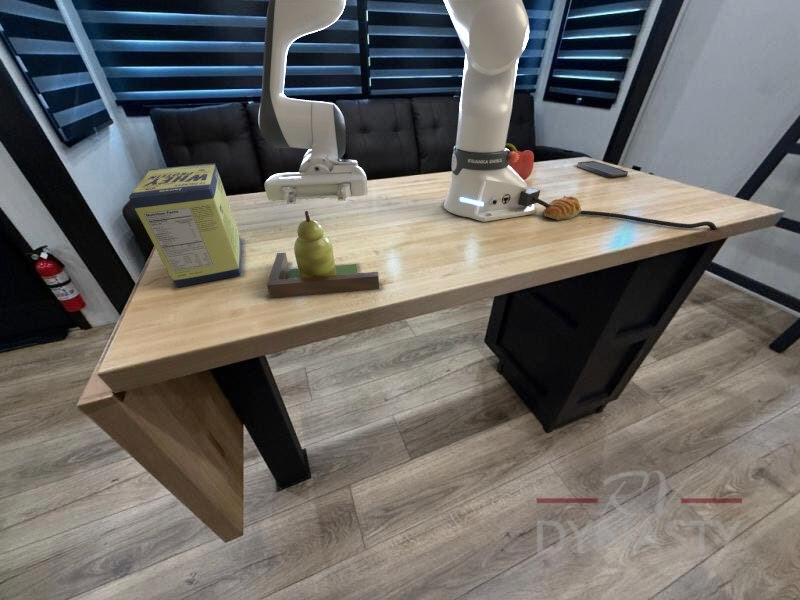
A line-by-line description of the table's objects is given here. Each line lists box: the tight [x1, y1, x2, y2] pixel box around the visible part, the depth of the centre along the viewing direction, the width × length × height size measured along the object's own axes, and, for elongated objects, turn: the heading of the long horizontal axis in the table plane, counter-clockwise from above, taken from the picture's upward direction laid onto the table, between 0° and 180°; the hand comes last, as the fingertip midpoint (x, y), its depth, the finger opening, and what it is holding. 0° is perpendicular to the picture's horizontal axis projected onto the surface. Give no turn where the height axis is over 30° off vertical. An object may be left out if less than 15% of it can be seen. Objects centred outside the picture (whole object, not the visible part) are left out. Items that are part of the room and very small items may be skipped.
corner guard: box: [266, 252, 380, 299], centre depth 55 cm, size 18×10×2 cm, turn 99°
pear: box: [293, 210, 336, 278], centre depth 52 cm, size 6×6×12 cm
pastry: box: [543, 195, 582, 221], centre depth 77 cm, size 9×7×4 cm
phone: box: [576, 160, 629, 179], centre depth 107 cm, size 8×1×15 cm
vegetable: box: [505, 143, 535, 181], centre depth 97 cm, size 11×10×10 cm
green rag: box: [286, 264, 358, 279], centre depth 56 cm, size 12×7×1 cm, turn 99°
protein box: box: [128, 162, 242, 288], centre depth 56 cm, size 10×16×16 cm
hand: (315, 198), depth 60 cm, fingers open, 8 cm apart
